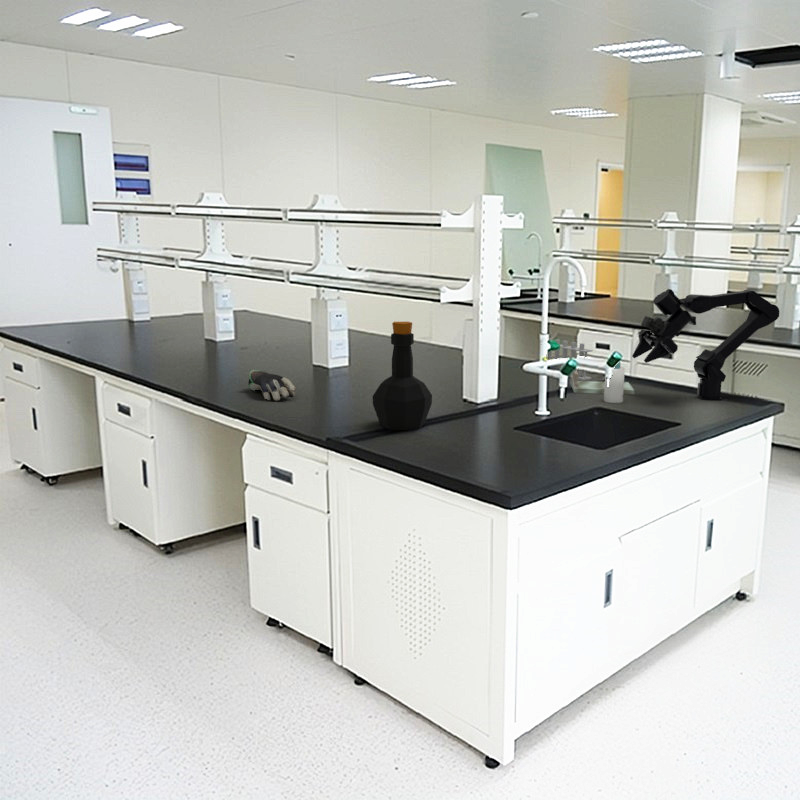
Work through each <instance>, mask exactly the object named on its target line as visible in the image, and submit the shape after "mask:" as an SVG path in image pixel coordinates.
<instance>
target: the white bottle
mask: <svg viewBox="0 0 800 800" xmlns="http://www.w3.org/2000/svg"><path fill="white" fill-rule="evenodd" d="M625 370H626V368H625V367H623V366H621V361H619V363H618V364H617V365H616V366H615V368H614V372H613V376H612V377H611V379H610V385H609V387H607V379H606V377H605V376H604V382H605V389H604V394H603V401H604V402H605V403H610V404H621V403H623V402H624V394H623V389H624V382H625Z"/></svg>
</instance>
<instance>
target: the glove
mask: <svg viewBox="0 0 800 800" xmlns="http://www.w3.org/2000/svg"><path fill="white" fill-rule="evenodd" d="M248 377H249V378H248V383H247V384H248V388H249V390H251V391H252V390H261V393H262V396H263V398H264V400H265V399H270V400H271V399H272V398H273V400H274V401H276V402H278V401H280V400H281V396H282V397H283V398H288V397H289V396H290V395H292V396H291V397H293V396H294V395H295V396H296V390H297V387H296V386H295V384H294V383H293V382H292V381H291V380H290V379H289V378H287V377H284V376H281V375H278V374H274V373H269V372H267V371H263V370H256V369H252V370H251V371H250V372H249V375H248ZM270 393H271V395H270ZM271 396H272V397H271Z"/></svg>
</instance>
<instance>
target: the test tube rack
mask: <svg viewBox="0 0 800 800" xmlns="http://www.w3.org/2000/svg"><path fill="white" fill-rule="evenodd" d="M548 338H549V339H550V340H552V341H553V339H552V337H548ZM555 341H556V342H557V343H558V344H560V341H561V340H560V338H557V339H556V338H555V340H554V342H555ZM540 343H541V342H539V345H541V344H540ZM568 344H569V343H568V340H563V341H562V344H560V346H561V348H560V349H562V358H567V359H568V351H570V359H571V358H572V357H575V358H576V355H577V354H576V353H577V352H578V357H579V356H584V358H585V357H587V358H588V353H589V352H593V351H594V350H593V349H588V348H585V343H579V347H577V342H576V341H572V342H570V345H568ZM560 349H559V350H557V351H555V350H554V359H557V358H559V359H560ZM548 357H549V359H551V360H552V351H550V352H549V356H548ZM577 372H578V374H579V378H578V381H589V380H592V379H593V378H592V376H587V371H586V372H585V371H584V370H583V371H580V370H579V369H578V370H577ZM570 377H571V376H570ZM570 377H569V378H570Z"/></svg>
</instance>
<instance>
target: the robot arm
mask: <svg viewBox="0 0 800 800" xmlns="http://www.w3.org/2000/svg"><path fill="white" fill-rule="evenodd" d="M652 302H653V304H654V305H655V306H656V308H657V309H658V310H659V311H660V312H661V313H662V315H663V316H669V317H667V319H666V320H663V319H662V318H661V317H657V316H656V317H655V318H653V317H650V316H644V317H643V320H642V321H641V323H640V325H641V326H642V327H645V328H647V329H641V330H640V331H639V332H638V333H637V335H638V339H639V340H638V344H637V346H636V348H635V350H634V351H633V353H632V357H631V358H633V359H636V358H638V357H639V356H642V355H643V354H645V353H647V352H649V351H650V352H649V353H648V354H647V356H646V357H645V358H644V360H643V362H644V363H645V364H647V363H650V362H653V361H655V360H657V359H661V358H663V357H667V356H670V355H671V354H672V355H674V354H676V352H678V347H679V346H678V345H677V344H676V342H675V341H674V338H675V337H679V336H681V334H680V332H681V331H682V330H683V329H684V328H685V327H686V326H687V325H688V324H689V325H693V326H696V325H697V316H694V315H691V313H693V314H703V313H706V312H710V311H712V310H713V309H715V308H720V307H726V306H727V307H728V306H734V305H741V304H742V305H743V304H744V305H745V306H746V307H747V309H749V310H750V311H749V312H748V316H747V318H746V320H745V321H744V322H743V323H742V324H740V325H739V326H738V328H736V329H735V330H734V331H733V332H732V333H731V334H730V335H728V336H727V338H725V339H724V340H723V341H722V342H721V343H720V344H719V345H718V346H717V347H716V348H714V349H713V350H709V349H704V350H703V351H702V352H700V354H699V355H698V356H696V357H695V358H696V359H695V360H694V362H693V369H694V371H695V372H696V374H697V377H698V378H699V382H698V383H697V389H696V390H697V391H696V395H697V397H699V398H700V399H701V400H716V401H717V400H722V399H723V398H722V397H721V396H722V395H721V392H722V383H724V382H725V379H726V377H727V375H726V374H725V373H724V372H723V370H721V369H722V368H723V367H724V365H725V362H726V360H727V358H728V357H730V356H731V355H732V354H733V353H734V352H735V351H736V350H737V349H739V347H741V346H742V345H743V344H744V343H745V342H746V341H747V340H748V339H749V338H750V337H752V335H754V334H755V333H756V332H757V331H758V330H760V329H762V328H764V327H767V326H769V325H771V324H772V323H774V322H776V320H778V318H779V317H780V308H779V307H778V306H777V305H776V304H772V303H771V302H770V301H768V300H767V299H765V298H764V297H762V296H761V295H760V294H758V293H757V292H756V291H755V290H750V289H744V290H740V291H733V292H725V293H720V294H713V295H709V294H708V295H707V294H694V293H693V294H687V295H686V296H685V298H678V296H677V295H676V294H675V292H674V291H673V289H672V288H667V289H666V290H664V291H663V292H661V293H660V294H657V295H656V296H655V298H653V301H652ZM683 308H684V309H683Z"/></svg>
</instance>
